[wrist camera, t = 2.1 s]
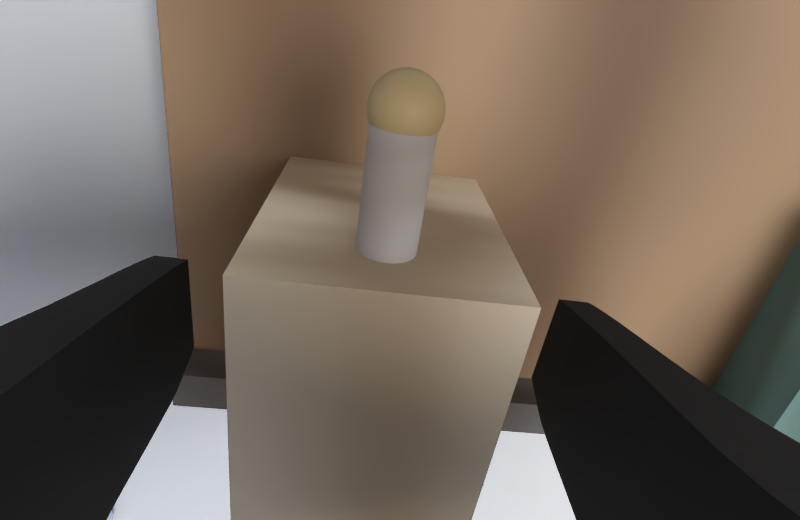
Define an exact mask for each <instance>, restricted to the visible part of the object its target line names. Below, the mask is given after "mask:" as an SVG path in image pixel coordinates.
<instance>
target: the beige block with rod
mask: <svg viewBox="0 0 800 520" xmlns="http://www.w3.org/2000/svg"><path fill="white" fill-rule="evenodd" d="M445 111H446V105H445V99H444V95H443V92H442V90H441V88H440V86H439V85H438V83H437V82H436V81H435V80H434V79H433V78H432V77H431V76H430V75H429V74H427V73H426V72H424V71H422V70H419V69H417V68H412V67H401V68H396V69H393V70H391V71H389V72H387V73H385V74H384V75H382V76H381V77H380V78H379V79H378V80H377V82H376V83H375V84H374V86H373V87H372V89H371V91H370V93H369V97H368V101H367V116H368V120H369V127H368V136H367V145H366V154H365V163H364V165H356V164H348V163H340V162H332V161H325V160H317V159H309V158H301V157H293V156H291V157H290V158H289V160H288V162H287V164H286V165H285V167H284V169H283V171H282V172H281V174H280V176H279V178H278V179H277V181H276V183H275V185H274V186H273V188H272V190H271V192H270V193H269V195H268V197H267V199H266V200H265V202H264V204H263V206H262V207H261V209H260V211H259V213H258V214H257V216H256V218H255V220H254V221H253V223H252V225H251V227H250V228H249V230H248V232H247V234H246V235H245V237H244V239H243V241H242V242H241V244H240V246H239V248H238V249H237V251H236V253H235V255H234V256H233V258H232V260H231V262H230V263H229V265H228V267H227V268H226V270H225V272H224V274H223V300H224V330H225V360H226V389H227V419H228V449H229V479H230V508H231V520H471V519H472V516H473V513H474V510H475V507H476V504H477V501H478V498H479V495H480V492H481V489H482V486H483V483H484V480H485V477H486V474H487V471H488V468H489V465H490V462H491V459H492V456H493V453H494V450H495V447H496V444H497V441H498V438H499V434H500V431H501V428H502V425H503V422H504V419H505V416H506V413H507V410H508V407H509V404H510V401H511V398H512V395H513V392H514V389H515V386H516V383H517V380H518V377H519V374H520V371H521V368H522V365H523V362H524V359H525V356H526V353H527V350H528V347H529V344H530V341H531V338H532V335H533V332H534V329H535V326H536V323H537V320H538V317H539V314H540V311H541V306H540V304H539V302H538V300H537V298H536V296H535V294H534V293H533V291H532V289H531V287H530V285H529V283H528V281H527V279H526V277H525V275H524V273H523V271H522V269H521V267H520V265H519V263H518V261H517V259H516V257H515V255H514V253H513V251H512V249H511V247H510V245H509V244H508V242H507V240H506V238H505V236H504V234H503V232H502V230H501V228H500V226H499V224H498V222H497V220H496V218H495V216H494V214H493V212H492V210H491V208H490V206H489V204H488V202H487V200H486V198H485V196H484V195H483V193H482V191H481V189H480V187H479V185H478V183H477V181H476V180H474V179H467V178H459V177H451V176H443V175H435V174H431V169H432V164H433V158H434V152H435V147H436V141H437V135H438V132H439V130H440V128H441V126H442V124H443V121H444V118H445Z"/></svg>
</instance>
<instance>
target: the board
mask: <svg viewBox="0 0 800 520" xmlns="http://www.w3.org/2000/svg"><path fill="white" fill-rule="evenodd" d="M157 12H158V24H159V37H160V49H161V61H162V73H163V85H164V98H165V110H166V122H167V134H168V146H169V159H170V171H171V183H172V195H173V208H174V220H175V232H176V244H177V256H178V258H179V259H188V267H189V281H190V295H191V308H192V322H193V336H194V349H193V351H192V354H191V357H190V359H189V362H188V365H187V367H186V370H185V373H184V375H183V378H182V380H181V382H180V385H179V387H178V390H177V392H176V394H175V396H174V398H173V405H178V406H191V407H204V408H217V409H227V389H226V360H225V330H224V300H223V274H224V272H225V270H226V268H227V267H228V265H229V263H230V262H231V260H232V258H233V256H234V255H235V253H236V251H237V249H238V248H239V246H240V244H241V242H242V241H243V239H244V237H245V235H246V234H247V232H248V230H249V228H250V227H251V225H252V223H253V221H254V220H255V218H256V216H257V214H258V213H259V211H260V209H261V207H262V206H263V204H264V202H265V200H266V199H267V197H268V195H269V193H270V192H271V190H272V188H273V186H274V185H275V183H276V181H277V179H278V178H279V176H280V174H281V172H282V171H283V169H284V167H285V165H286V164H287V162H288V160H289V158H290V157H291V156H293V157H301V158H309V159H317V160H325V161H332V162H340V163H348V164H356V165H364V163H365V154H366V145H367V136H368V127H369V120H368V116H367V101H368V97H369V93H370V91H371V89H372V87H373V86H374V84H375V83H376V82H377V80H378V79H379V78H380V77H381V76H382V75H384V74H385V73H387V72H389V71H391V70H393V69H396V68H401V67H412V68H417V69H419V70H422V71H424V72H426V73H427V74H429V75H430V76H431V77H432V78H433V79H434V80H435V81H436V82H437V83H438V85H439V86H440V88H441V90H442V92H443V95H444V99H445V105H446V111H445V118H444V121H443V124H442V126H441V128H440V130H439V132H438V135H437V141H436V147H435V152H434V158H433V164H432V169H431V174H435V175H443V176H451V177H459V178H467V179H474V180H476V181H477V183H478V185H479V187H480V189H481V191H482V193H483V195H484V196H485V198H486V200H487V202H488V204H489V206H490V208H491V210H492V212H493V214H494V216H495V218H496V220H497V222H498V224H499V226H500V228H501V230H502V232H503V234H504V236H505V238H506V240H507V242H508V244H509V245H510V247H511V249H512V251H513V253H514V255H515V257H516V259H517V261H518V263H519V265H520V267H521V269H522V271H523V273H524V275H525V277H526V279H527V281H528V283H529V285H530V287H531V289H532V291H533V293H534V294H535V296H536V298H537V300H538V302H539V304H540V306H541V311H540V314H539V317H538V320H537V323H536V326H535V329H534V332H533V335H532V338H531V341H530V344H529V347H528V350H527V353H526V356H525V359H524V362H523V365H522V368H521V371H520V374H519V377H518V380H517V383H516V386H515V389H514V392H513V395H512V398H511V401H510V404H509V407H508V410H507V413H506V416H505V419H504V422H503V425H502V428H501V431H512V432H525V433H538V434H545V433H544V430H543V427H542V424H541V420H540V416H539V412H538V407H537V403H536V398H535V393H534V388H533V383H532V378H531V377H532V375H533V372H534V369H535V366H536V363H537V360H538V357H539V355H540V352H541V349H542V346H543V343H544V340H545V337H546V335H547V332H548V329H549V326H550V323H551V320H552V317H553V314H554V312H555V309H556V306H557V303H558V300H559V299H561V300H570V301H579V302H588V303H590V304H592V305H593V306H595V307H597V308H599V309H600V310H602V311H603V312H605V313H606V314H608V315H609V316H611V317H612V318H613V319H615V320H616V321H618V322H619V323H621V324H622V325H623V326H625V327H626V328H628V329H629V330H630V331H632V332H633V333H634V334H636V335H637V336H639V337H640V338H641V339H643V340H644V341H645V342H647V343H648V344H649V345H651V346H652V347H654V348H655V349H656V350H658V351H659V352H660V353H662V354H663V355H665V356H666V357H667V358H669V359H670V360H672V361H673V362H674V363H676V364H677V365H679V366H680V367H681V368H683V369H684V370H686V371H687V372H688V373H690V374H691V375H693V376H694V377H696V378H697V379H699V380H700V381H701V382H703V383H704V384H706V385H707V386H709V387H710V388H712V389H713V390H715V391H716V392H718V393H719V394H721V395H722V396H724V397H725V398H727V399H728V400H730V401H731V402H733V403H734V404H736V405H737V406H739V407H741V408H742V409H744V410H745V411H747V412H748V413H750V414H752V415H753V416H755V417H756V418H758V419H760V420H761V421H763V422H765V423H766V424H768V425H770V426H771V427H773V428H775V429H777V430H778V431H780V432H782V433H783V434H785V435H787V436H789V437H790V438H792V439H794V440H795V441H797V442H799V443H800V0H157Z"/></svg>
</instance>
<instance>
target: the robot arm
mask: <svg viewBox="0 0 800 520" xmlns="http://www.w3.org/2000/svg"><path fill="white" fill-rule="evenodd" d="M193 349H194V336H193V322H192V308H191V295H190V281H189V267H188V259H179V258H170V257H161V256H153V257H150V258H147V259H145V260H142V261H140V262H138V263H135V264H133V265H131V266H129V267H127V268H125V269H123V270H120V271H118V272H116V273H114V274H112V275H110V276H108V277H106V278H104V279H102V280H100V281H98V282H96V283H94V284H92V285H90V286H88V287H85V288H83V289H81V290H79V291H77V292H75V293H73V294H71V295H69V296H67V297H65V298H63V299H61V300H58V301H56V302H54V303H52V304H50V305H48V306H46V307H43V308H41V309H39V310H36V311H34V312H32V313H30V314H27V315H25V316H23V317H21V318H18V319H16V320H14V321H11V322H9V323H7V324H5V325H2V326H0V520H113V513H112V508H113V506H114V504H115V502H116V501H117V499H118V497H119V495H120V493H121V492H122V490H123V488H124V486H125V485H126V483H127V481H128V479H129V477H130V476H131V474H132V472H133V470H134V468H135V467H136V465H137V463H138V461H139V459H140V458H141V456H142V454H143V452H144V451H145V449H146V447H147V445H148V443H149V442H150V440H151V438H152V436H153V434H154V433H155V431H156V429H157V427H158V425H159V424H160V422H161V420H162V418H163V416H164V415H165V413H166V411H167V409H168V407H169V405H170V404H171V402H172V400H173V398H174V396H175V394H176V392H177V390H178V387H179V385H180V382H181V380H182V378H183V375H184V373H185V370H186V367H187V365H188V362H189V359H190V357H191V354H192V351H193ZM531 378H532V383H533V388H534V393H535V398H536V403H537V407H538V412H539V416H540V420H541V424H542V427H543V430H544V433H545V436H546V438H547V441H548V444H549V447H550V449H551V452H552V455H553V458H554V461H555V463H556V466H557V469H558V471H559V474H560V477H561V479H562V482H563V485H564V488H565V490H566V493H567V496H568V498H569V501H570V504H571V506H572V509H573V512H574V515H575V517H576V520H800V443H799V442H797V441H795V440H794V439H792V438H790V437H789V436H787V435H785V434H783V433H782V432H780V431H778V430H777V429H775V428H773V427H771V426H770V425H768V424H766V423H765V422H763V421H761V420H760V419H758V418H756V417H755V416H753V415H752V414H750V413H748V412H747V411H745V410H744V409H742V408H741V407H739V406H737V405H736V404H734V403H733V402H731V401H730V400H728V399H727V398H725V397H724V396H722V395H721V394H719V393H718V392H716V391H715V390H713V389H712V388H710V387H709V386H707V385H706V384H704V383H703V382H701V381H700V380H699V379H697V378H696V377H694V376H693V375H691V374H690V373H688V372H687V371H686V370H684V369H683V368H681V367H680V366H679V365H677V364H676V363H674V362H673V361H672V360H670V359H669V358H667V357H666V356H665V355H663V354H662V353H660V352H659V351H658V350H656V349H655V348H654V347H652V346H651V345H649V344H648V343H647V342H645V341H644V340H643V339H641V338H640V337H639V336H637V335H636V334H634V333H633V332H632V331H630V330H629V329H628V328H626V327H625V326H623V325H622V324H621V323H619V322H618V321H616V320H615V319H613V318H612V317H611V316H609V315H608V314H606V313H605V312H603V311H602V310H600V309H599V308H597V307H595V306H593V305H592V304H590V303H588V302H579V301H570V300H561V299H559V300H558V303H557V306H556V309H555V312H554V314H553V317H552V320H551V323H550V326H549V329H548V332H547V335H546V337H545V340H544V343H543V346H542V349H541V352H540V355H539V357H538V360H537V363H536V366H535V369H534V372H533V375H532V377H531Z"/></svg>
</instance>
